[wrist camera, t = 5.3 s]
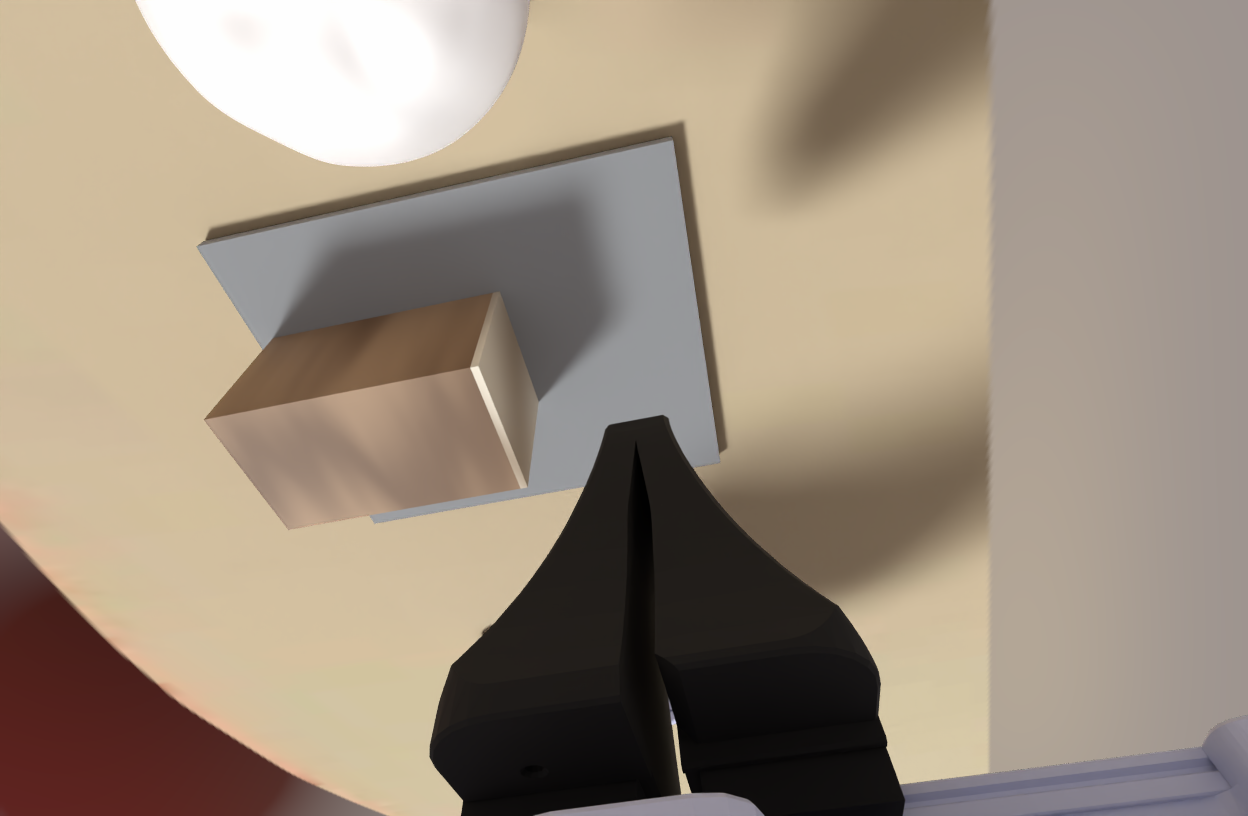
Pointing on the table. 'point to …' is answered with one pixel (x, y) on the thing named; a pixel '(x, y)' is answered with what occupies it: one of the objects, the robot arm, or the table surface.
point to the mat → (515, 293)
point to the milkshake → (346, 68)
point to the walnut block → (384, 413)
